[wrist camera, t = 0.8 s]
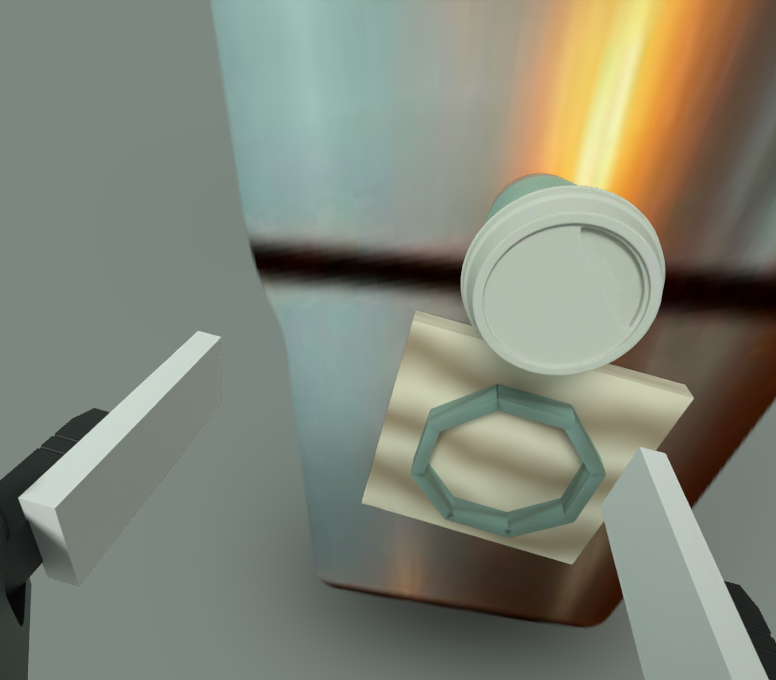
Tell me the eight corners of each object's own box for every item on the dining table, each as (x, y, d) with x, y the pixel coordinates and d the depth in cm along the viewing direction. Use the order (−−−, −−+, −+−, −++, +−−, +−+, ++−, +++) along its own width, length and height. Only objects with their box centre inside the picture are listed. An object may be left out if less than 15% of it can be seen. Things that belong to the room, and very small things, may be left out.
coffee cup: (592, 286, 31) (647, 394, 21) (462, 280, 32) (454, 378, 22) (623, 148, 27) (710, 199, 16) (471, 147, 28) (465, 194, 18)
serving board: (415, 310, 34) (409, 332, 31) (685, 384, 33) (704, 414, 30) (365, 489, 45) (357, 518, 42) (569, 549, 44) (575, 583, 41)
